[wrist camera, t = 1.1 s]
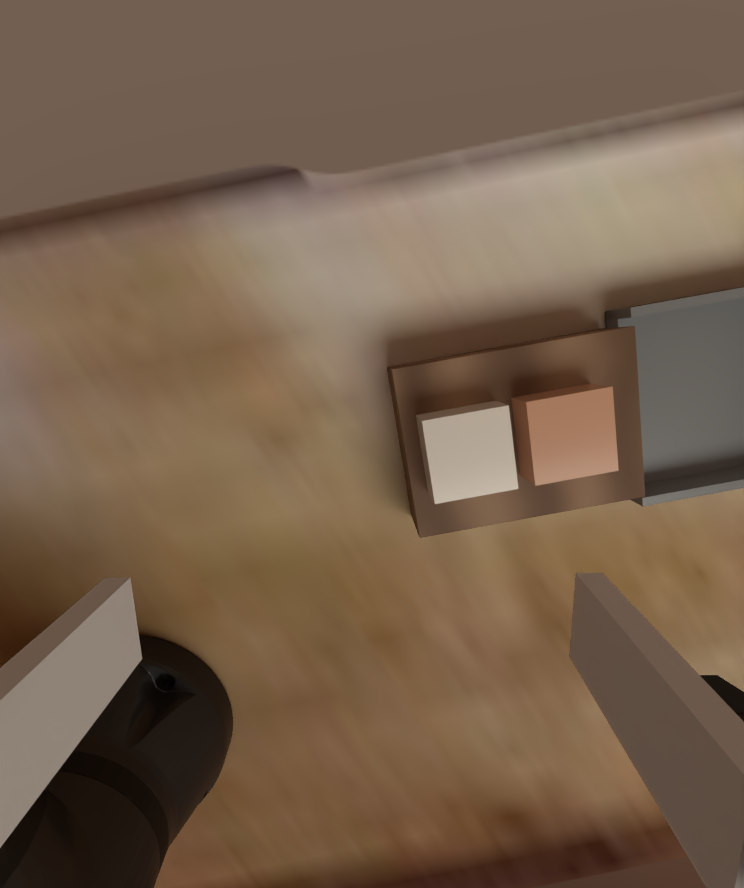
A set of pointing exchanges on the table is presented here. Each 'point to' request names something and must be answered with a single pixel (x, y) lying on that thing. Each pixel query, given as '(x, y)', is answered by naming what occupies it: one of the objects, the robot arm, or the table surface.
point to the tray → (689, 393)
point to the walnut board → (501, 379)
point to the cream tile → (467, 451)
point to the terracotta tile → (566, 433)
